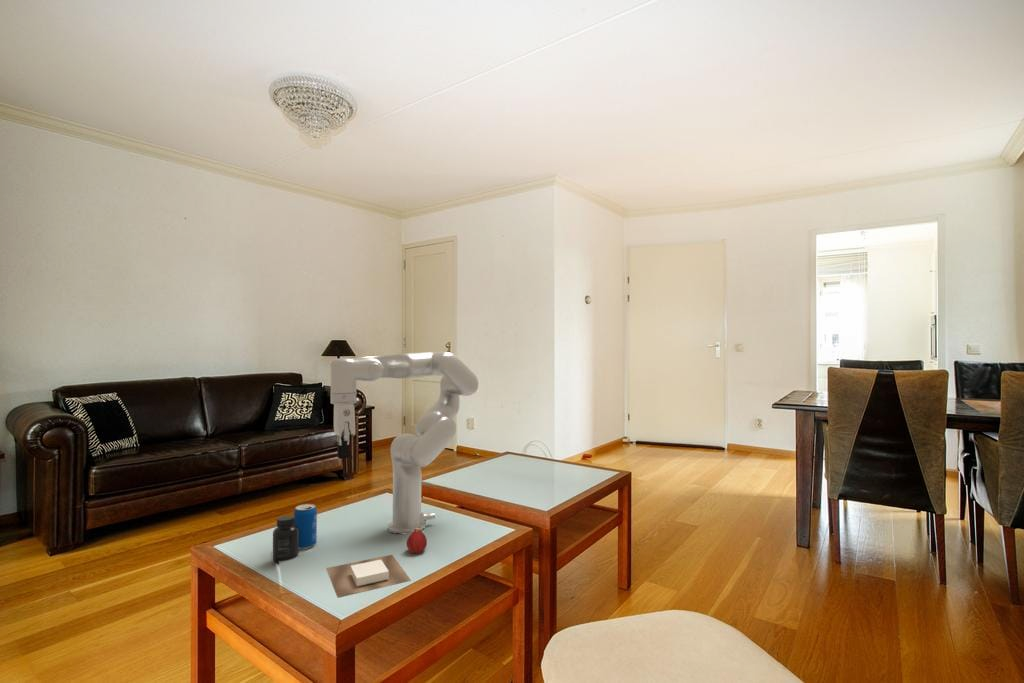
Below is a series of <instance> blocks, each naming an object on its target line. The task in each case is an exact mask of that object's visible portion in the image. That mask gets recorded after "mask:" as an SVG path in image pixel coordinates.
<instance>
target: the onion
mask: <svg viewBox="0 0 1024 683" xmlns="http://www.w3.org/2000/svg"><path fill="white" fill-rule="evenodd" d="M427 544H428V541H427V537H426V535H425V533H424V532H423V531H422V530H421V531H420V530H419V529H418V528H416V529H415V531H414V532H412V533H409V536H408V538H407V539H406V546H407V549H408V551H409V552H410V553H412V554H420V553H423V552H424V551H425V549H426V548H427Z"/></svg>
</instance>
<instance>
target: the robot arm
mask: <svg viewBox="0 0 1024 683" xmlns="http://www.w3.org/2000/svg"><path fill="white" fill-rule="evenodd" d="M432 376H442V377H441V379H440V382H439V387H440V394H439V398H438V399H437V401H436V402H435V403H434V405H433V406H431V407H430V408H429V409H428V410H427V411H426V412H425V413H424V414H423V415H422V416H421V417H420V418H419V419H418V420H417V422H416V423H415V427H414V428H415V429H414V430H415V433H416V434H412V433H401V434H399V435H397V436H396V437H394V439H393V440H392V442H391V445H390V459H391V462H392V521H391V522H389V523H388V525H387V530H388V532H390V533H392V532H393V534H396V533H406V534H411V533H412V532H414V531H415V529H416V528H418V529H419V530H421V529H423V528H424V527H425V526H427V522H426V521H427V520H435V519H436V514H435V512H433V513H430V512H423V511H422V478H423V477H422V476H423V475H422V468H423V467H427V466H428V465H429V464H431V463H432V462H433V461H434V460H436V458H437V457H438V456H440V454H441V453H442V452H444V450H445V449H446V448H447V447H448V446H449V445H450V444H451V443H452V441H453V439H454V437H455V435H456V432H457V425H456V422H455V421H454V418H455V417H456V416H457V415H458V413H459V410H460V400H461V399H460V396H463V397H464V396H465V397H469V396H472V395H474V394H475V393H476V392H477V391H478V389H479V379H478V377H477V375H476V374H475V373H474V372H473V371H472V370H471V368H469V367H468V365H466V364H465V363H464V362H463V361H462V360H461V359H460V358H459V357H458V356H457V355H456V354H454V353H452V352H450V351H424V352H407V353H406V352H405V353H395V354H390V355H389V354H388V355H387V354H386V355H377V356H376V355H374V356H372V355H371V356H359V357H354V358H348V357H347V358H346V357H345V358H334V359H332V360H331V362H330V404H332V405H333V432H334V433H335V434H336V435H337V446H336V448H337V449H336V451H337V453H336V454H337V456H336V458H338V460H339V459H349V458H350V435H351V436H352V437H353V436H355V435H356V415H355V411H356V410H355V404H357V381H361V382H375V381H376V380H379V379H382V378H389V379H390V378H391V379H412V378H413V379H415V378H423V377H432ZM425 528H426V527H425ZM425 528H424V529H425ZM424 529H423V530H424ZM421 531H422V530H421Z"/></svg>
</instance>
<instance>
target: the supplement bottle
mask: <svg viewBox="0 0 1024 683" xmlns="http://www.w3.org/2000/svg"><path fill="white" fill-rule="evenodd" d="M294 524H295V516H294V515H282V516H280V517H277V519H276V527H275V528H274V529H273V531H272V562H273V563H274V564H276V565H280V562H283V561H285V562H286V561H290V560H293V559H295V558H297V557H299V555H300V552H299V551H300V549H299V528H298V527H297V526H296V525H294Z"/></svg>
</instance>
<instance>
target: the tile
mask: <svg viewBox="0 0 1024 683" xmlns="http://www.w3.org/2000/svg"><path fill="white" fill-rule="evenodd" d="M350 573H351V575H352V578H353V580H354V582H355V584H356V586H361V585H365V584H370V583H374V582H378V581H383V580H387V579H389V571H388V569H387V568H386V566H385V565H384V563H383V562H382V560H376V561H371V562H366V563H361V564H357V565H352V566H351V572H350Z"/></svg>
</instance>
